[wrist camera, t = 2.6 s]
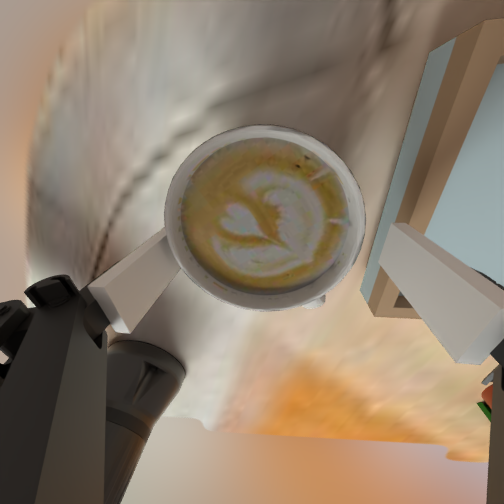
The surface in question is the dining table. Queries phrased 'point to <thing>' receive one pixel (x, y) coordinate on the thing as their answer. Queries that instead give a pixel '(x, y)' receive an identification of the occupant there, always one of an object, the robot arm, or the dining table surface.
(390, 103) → the dining table surface
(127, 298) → the robot arm
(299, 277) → the coffee mug
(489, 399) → the green and brown toy
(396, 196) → the picture frame
